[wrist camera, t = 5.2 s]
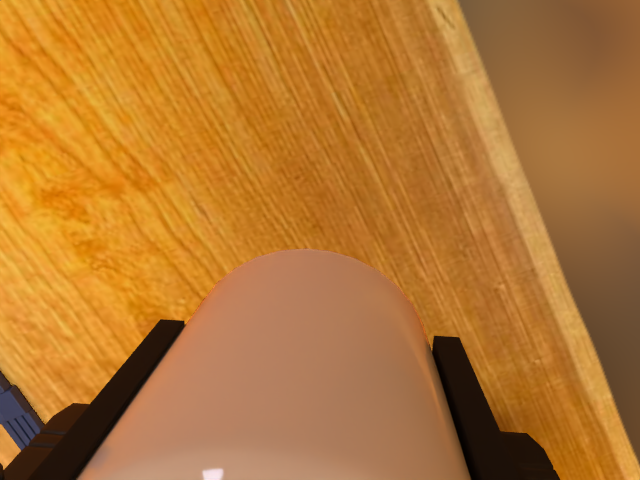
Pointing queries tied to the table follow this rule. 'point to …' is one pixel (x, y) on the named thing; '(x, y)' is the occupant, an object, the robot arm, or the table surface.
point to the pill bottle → (291, 384)
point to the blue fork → (17, 415)
